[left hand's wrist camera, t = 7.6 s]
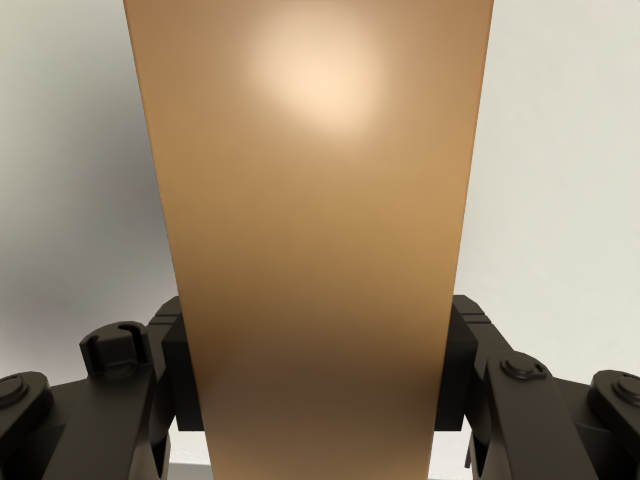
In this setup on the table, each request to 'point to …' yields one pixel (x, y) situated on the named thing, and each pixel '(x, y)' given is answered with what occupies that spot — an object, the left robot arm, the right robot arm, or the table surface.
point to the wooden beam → (313, 218)
